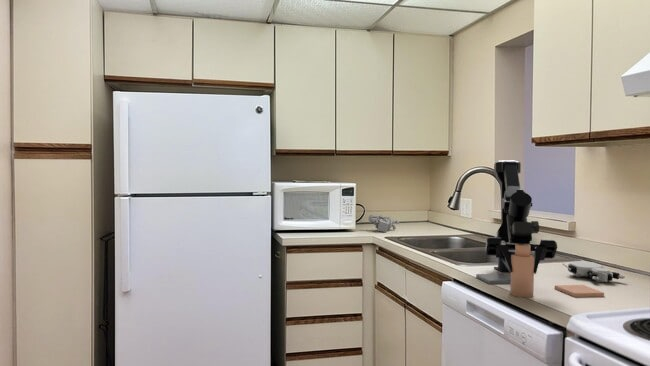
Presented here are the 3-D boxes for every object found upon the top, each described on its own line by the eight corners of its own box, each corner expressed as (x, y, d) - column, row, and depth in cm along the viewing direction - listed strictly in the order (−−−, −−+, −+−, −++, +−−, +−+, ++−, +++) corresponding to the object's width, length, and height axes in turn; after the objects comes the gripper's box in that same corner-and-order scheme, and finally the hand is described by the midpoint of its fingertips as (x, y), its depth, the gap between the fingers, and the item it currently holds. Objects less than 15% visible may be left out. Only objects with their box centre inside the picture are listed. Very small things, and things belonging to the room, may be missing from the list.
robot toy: (627, 286, 146) (591, 272, 160) (628, 272, 145) (592, 259, 160) (593, 288, 143) (560, 273, 158) (594, 273, 143) (561, 260, 158)
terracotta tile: (554, 288, 138) (554, 285, 138) (582, 288, 139) (582, 284, 139) (574, 296, 129) (574, 293, 129) (604, 296, 130) (604, 292, 130)
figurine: (397, 240, 266) (369, 237, 260) (392, 224, 275) (364, 220, 269) (405, 229, 259) (376, 225, 253) (399, 212, 268) (371, 208, 262)
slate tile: (476, 277, 152) (476, 274, 152) (502, 276, 153) (502, 273, 153) (489, 283, 143) (489, 280, 143) (516, 283, 144) (516, 280, 144)
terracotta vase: (506, 292, 133) (507, 243, 133) (526, 291, 134) (527, 243, 134) (517, 297, 127) (518, 246, 127) (537, 297, 128) (539, 246, 128)
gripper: (487, 209, 136) (490, 253, 126) (556, 211, 132) (565, 257, 121) (484, 233, 144) (486, 276, 134) (549, 235, 140) (557, 280, 129)
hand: (523, 272), depth 129 cm, fingers closed on terracotta vase, 6 cm apart
